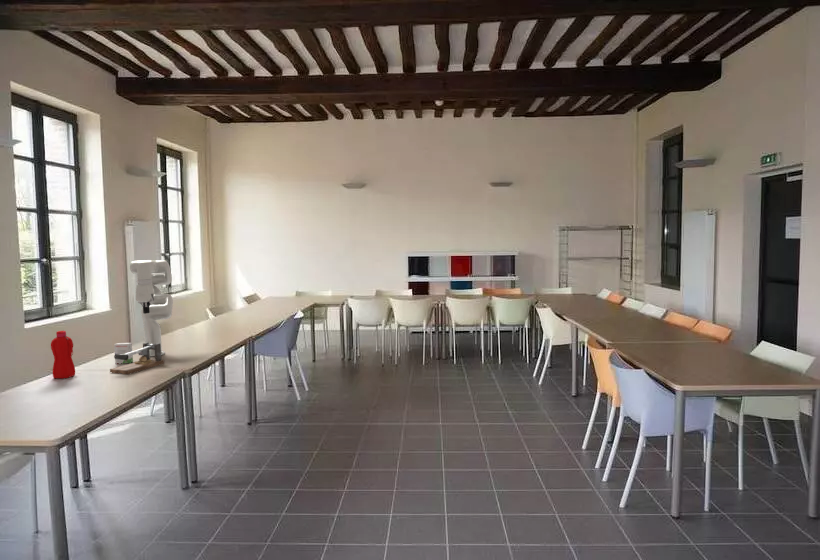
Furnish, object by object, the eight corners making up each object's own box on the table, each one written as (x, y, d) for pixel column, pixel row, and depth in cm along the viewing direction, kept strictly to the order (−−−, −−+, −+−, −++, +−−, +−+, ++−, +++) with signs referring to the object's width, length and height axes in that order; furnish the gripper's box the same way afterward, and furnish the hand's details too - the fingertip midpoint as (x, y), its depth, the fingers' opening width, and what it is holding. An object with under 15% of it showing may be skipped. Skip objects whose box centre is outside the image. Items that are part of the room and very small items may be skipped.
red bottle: (67, 379, 297) (64, 332, 294) (49, 378, 299) (46, 332, 297) (81, 375, 306) (78, 329, 303) (63, 374, 308) (60, 329, 306)
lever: (149, 350, 332) (148, 343, 332) (159, 351, 330) (158, 343, 330) (114, 362, 309) (113, 354, 308) (124, 362, 307) (123, 355, 306)
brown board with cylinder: (110, 372, 310) (108, 351, 309) (146, 362, 334) (145, 342, 333) (128, 374, 306) (127, 352, 305) (164, 363, 330) (162, 343, 329)
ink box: (133, 361, 336) (132, 342, 335) (129, 363, 331) (128, 343, 330) (119, 362, 336) (117, 342, 335) (114, 364, 331) (113, 344, 330)
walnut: (137, 363, 322) (137, 356, 322) (143, 361, 326) (142, 355, 326) (143, 363, 321) (142, 357, 321) (148, 362, 325) (148, 355, 324)
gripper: (129, 282, 331) (131, 313, 333) (149, 283, 326) (151, 314, 328) (139, 281, 338) (141, 312, 340) (159, 282, 333) (161, 312, 335)
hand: (146, 313), depth 334 cm, fingers closed
